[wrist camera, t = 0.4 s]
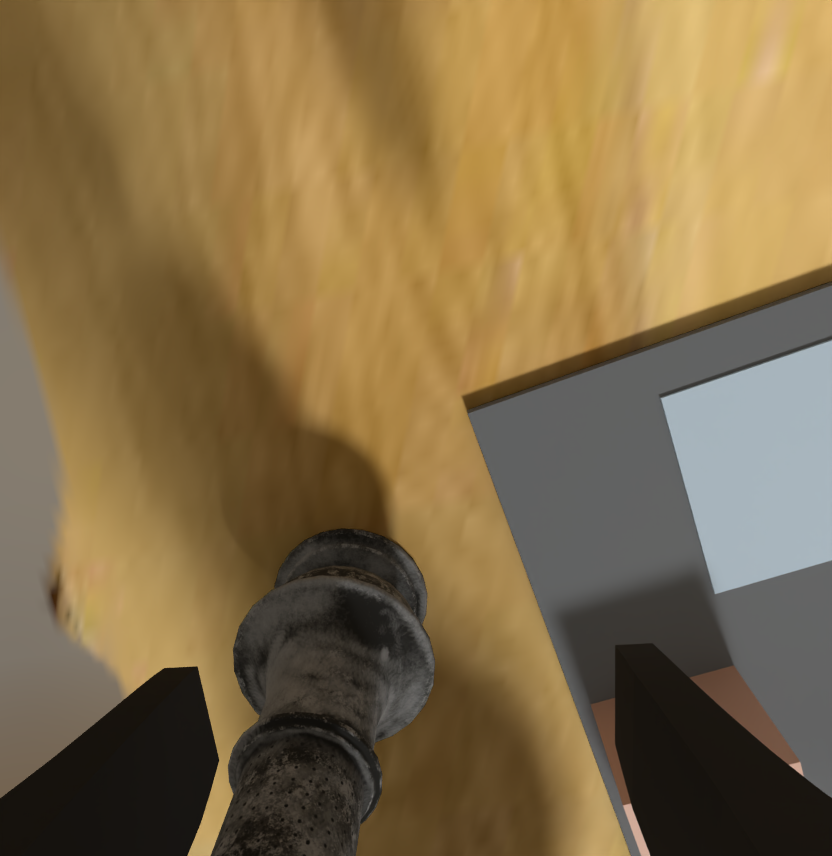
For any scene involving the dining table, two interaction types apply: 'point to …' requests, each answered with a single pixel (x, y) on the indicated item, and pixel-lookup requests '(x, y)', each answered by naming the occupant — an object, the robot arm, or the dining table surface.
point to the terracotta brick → (727, 694)
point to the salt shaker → (324, 694)
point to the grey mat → (685, 514)
